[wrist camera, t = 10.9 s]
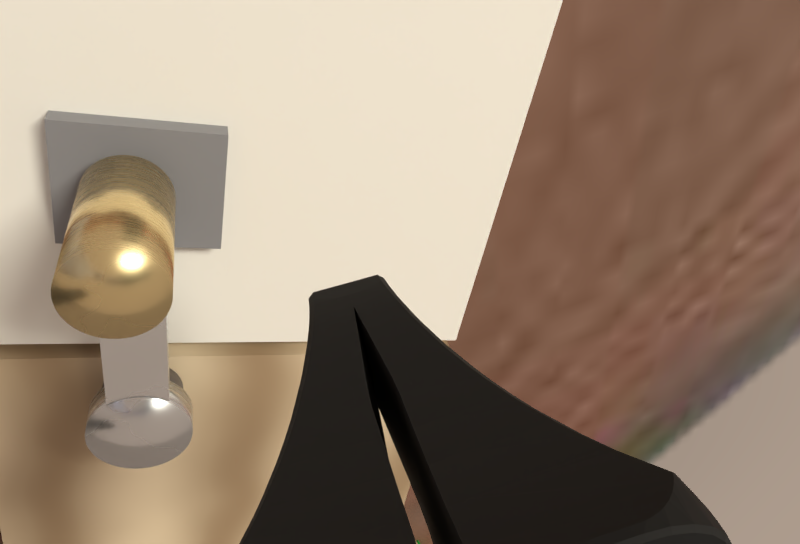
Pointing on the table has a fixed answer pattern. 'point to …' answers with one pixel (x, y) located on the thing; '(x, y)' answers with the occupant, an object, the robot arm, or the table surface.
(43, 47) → the door
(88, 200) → the bar
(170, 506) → the beige slab
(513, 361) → the table surface
